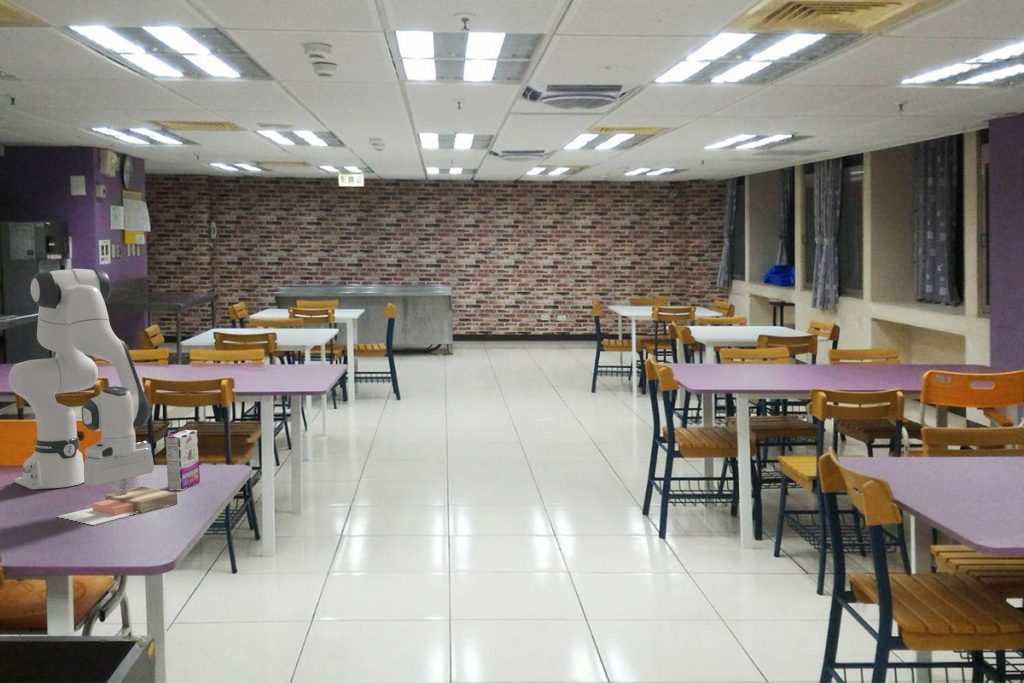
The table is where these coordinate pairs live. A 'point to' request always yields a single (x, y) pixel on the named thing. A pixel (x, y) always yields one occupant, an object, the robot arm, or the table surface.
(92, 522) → the mat
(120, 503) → the salmon pink rectangular block
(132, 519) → the table surface
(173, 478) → the candy bar box
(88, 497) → the table surface
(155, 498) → the plate
